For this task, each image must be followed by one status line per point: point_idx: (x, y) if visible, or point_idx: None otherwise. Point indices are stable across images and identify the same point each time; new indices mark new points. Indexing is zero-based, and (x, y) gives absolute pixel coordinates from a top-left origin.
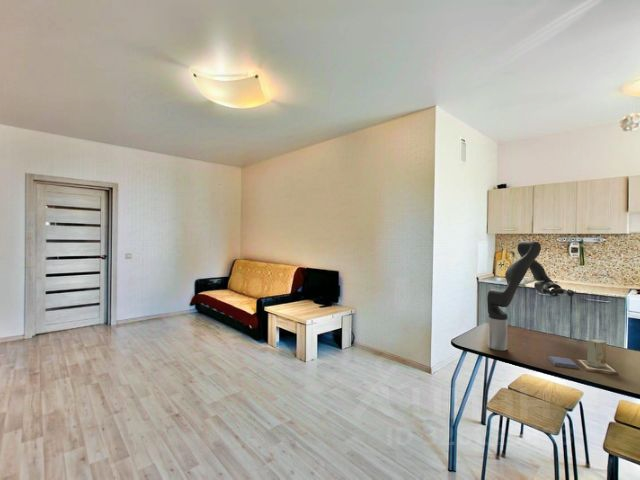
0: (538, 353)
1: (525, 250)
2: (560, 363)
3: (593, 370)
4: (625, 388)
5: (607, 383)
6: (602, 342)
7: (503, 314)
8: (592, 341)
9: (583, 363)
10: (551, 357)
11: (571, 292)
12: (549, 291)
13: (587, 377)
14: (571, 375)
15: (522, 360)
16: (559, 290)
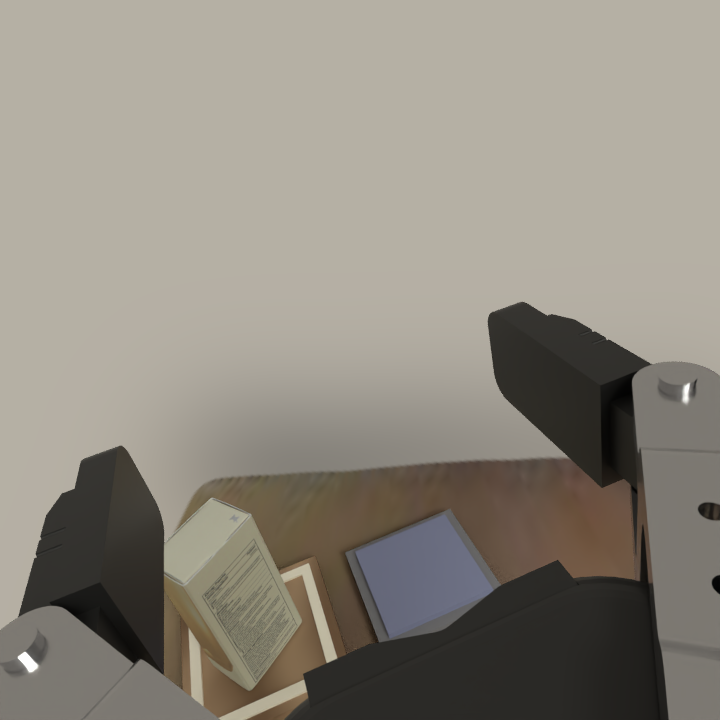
0: None
1: None
2: (422, 525)
3: (286, 571)
4: (215, 492)
5: (262, 491)
6: (175, 533)
7: None
8: (231, 506)
9: (319, 618)
10: (478, 572)
11: (85, 460)
12: (579, 324)
13: (321, 494)
14: (375, 470)
15: (587, 476)
16: (374, 648)
